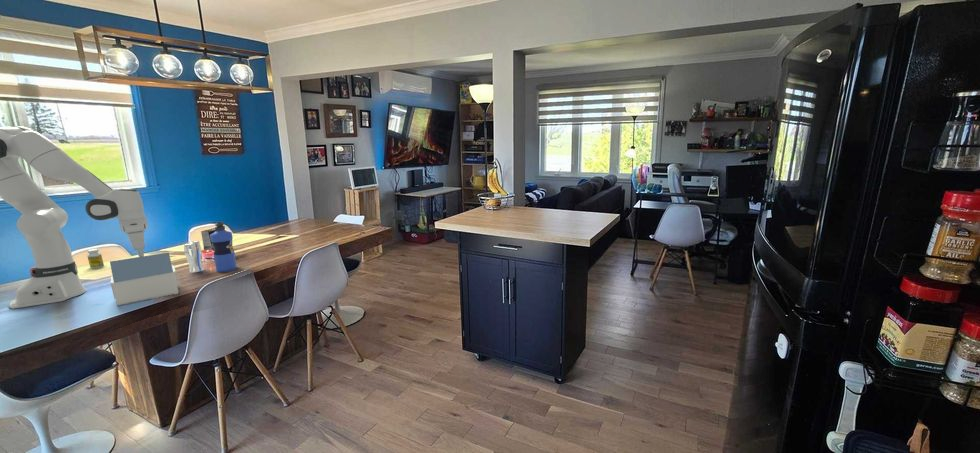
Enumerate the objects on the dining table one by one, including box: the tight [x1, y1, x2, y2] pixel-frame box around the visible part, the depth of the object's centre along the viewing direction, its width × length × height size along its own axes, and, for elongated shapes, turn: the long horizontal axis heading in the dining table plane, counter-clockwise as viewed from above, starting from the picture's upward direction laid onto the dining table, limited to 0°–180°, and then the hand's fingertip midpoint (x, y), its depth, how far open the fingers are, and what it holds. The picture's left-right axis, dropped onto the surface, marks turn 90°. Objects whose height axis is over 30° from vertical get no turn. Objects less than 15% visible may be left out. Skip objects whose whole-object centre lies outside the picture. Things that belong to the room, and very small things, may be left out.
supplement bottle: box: [87, 248, 105, 269], centre depth 216 cm, size 5×5×10 cm
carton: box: [110, 264, 180, 307], centre depth 175 cm, size 21×14×10 cm
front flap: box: [109, 252, 173, 283], centre depth 170 cm, size 19×9×1 cm
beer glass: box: [183, 240, 205, 274], centre depth 207 cm, size 7×7×15 cm
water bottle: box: [210, 221, 238, 273], centre depth 207 cm, size 9×9×25 cm
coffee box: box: [200, 227, 216, 251], centre depth 232 cm, size 9×6×16 cm
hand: (141, 255), depth 176 cm, fingers closed
